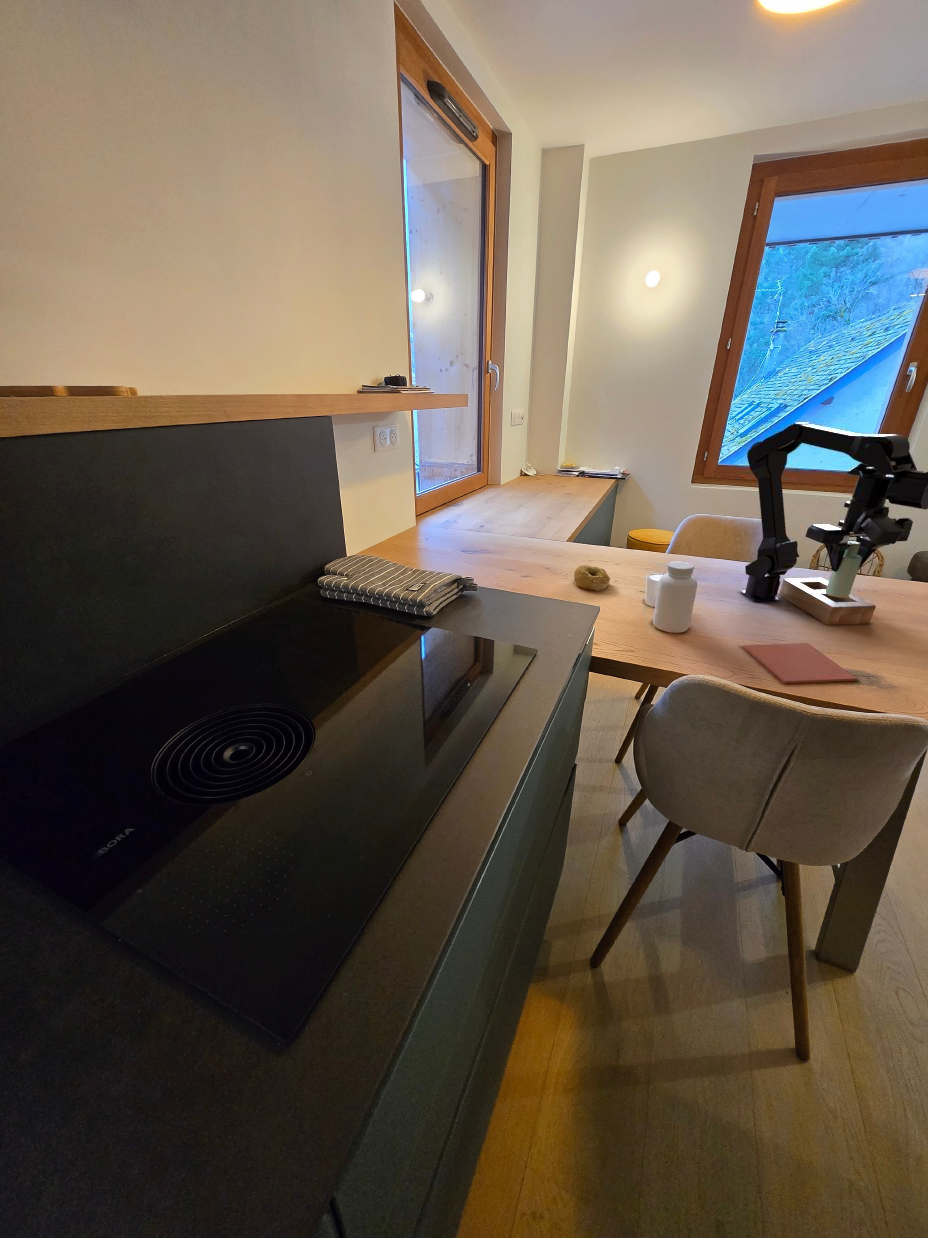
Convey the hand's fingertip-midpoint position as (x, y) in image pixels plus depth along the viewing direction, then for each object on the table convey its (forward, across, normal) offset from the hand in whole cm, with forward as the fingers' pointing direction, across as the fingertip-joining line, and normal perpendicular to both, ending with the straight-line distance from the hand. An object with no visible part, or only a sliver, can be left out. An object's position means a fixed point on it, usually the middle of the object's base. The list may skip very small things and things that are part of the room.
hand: (844, 570), depth 108 cm
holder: (+13, +5, +8) cm, 16 cm away
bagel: (+13, -46, +30) cm, 57 cm away
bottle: (+6, 0, 0) cm, 6 cm away
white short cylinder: (+13, -34, +15) cm, 39 cm away
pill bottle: (+13, -36, +2) cm, 39 cm away
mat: (+13, -19, -16) cm, 28 cm away
